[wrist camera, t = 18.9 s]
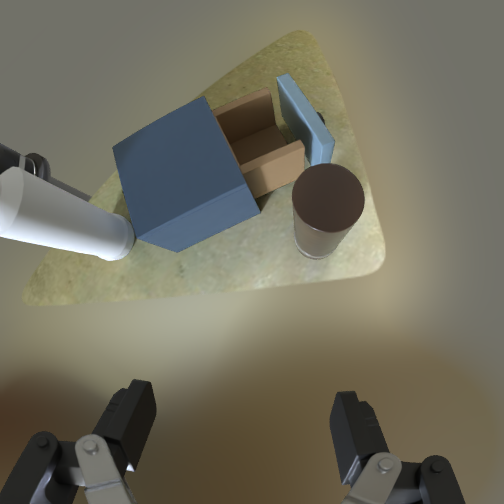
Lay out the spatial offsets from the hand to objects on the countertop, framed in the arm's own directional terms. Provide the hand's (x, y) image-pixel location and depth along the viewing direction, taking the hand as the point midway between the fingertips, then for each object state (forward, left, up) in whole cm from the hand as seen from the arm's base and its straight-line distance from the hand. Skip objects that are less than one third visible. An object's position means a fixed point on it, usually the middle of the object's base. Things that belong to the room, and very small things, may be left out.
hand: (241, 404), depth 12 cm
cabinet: (-8, +15, -16) cm, 23 cm away
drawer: (0, +19, -16) cm, 24 cm away
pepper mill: (+4, +10, -16) cm, 20 cm away
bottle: (-18, +10, -17) cm, 26 cm away
